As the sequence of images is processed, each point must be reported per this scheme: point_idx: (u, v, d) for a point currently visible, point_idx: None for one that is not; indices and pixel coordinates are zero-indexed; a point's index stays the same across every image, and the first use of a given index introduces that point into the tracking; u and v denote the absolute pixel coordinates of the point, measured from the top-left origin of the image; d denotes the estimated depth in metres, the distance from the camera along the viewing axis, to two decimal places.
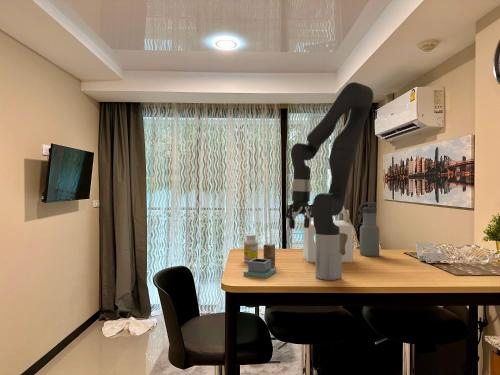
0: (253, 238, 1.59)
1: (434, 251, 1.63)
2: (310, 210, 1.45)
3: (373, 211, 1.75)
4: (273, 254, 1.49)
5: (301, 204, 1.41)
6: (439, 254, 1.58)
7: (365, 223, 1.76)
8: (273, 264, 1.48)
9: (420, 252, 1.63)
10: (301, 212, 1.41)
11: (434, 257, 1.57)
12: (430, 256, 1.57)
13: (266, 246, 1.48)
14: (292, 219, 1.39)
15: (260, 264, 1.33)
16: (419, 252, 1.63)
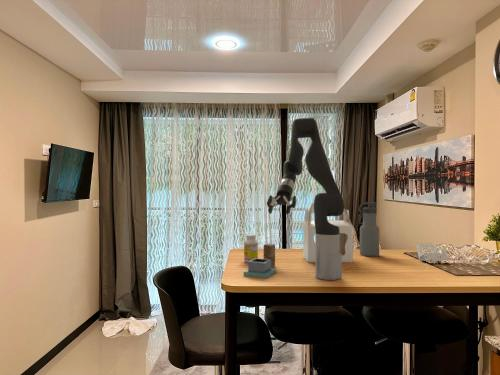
0: (253, 238, 1.59)
1: (435, 251, 1.62)
2: None
3: (373, 211, 1.75)
4: (273, 254, 1.49)
5: (281, 196, 1.67)
6: (440, 254, 1.57)
7: (365, 223, 1.76)
8: (273, 264, 1.48)
9: (421, 252, 1.62)
10: (280, 201, 1.64)
11: (435, 257, 1.57)
12: (431, 256, 1.57)
13: (266, 246, 1.48)
14: (269, 205, 1.65)
15: (260, 264, 1.33)
16: (420, 252, 1.62)
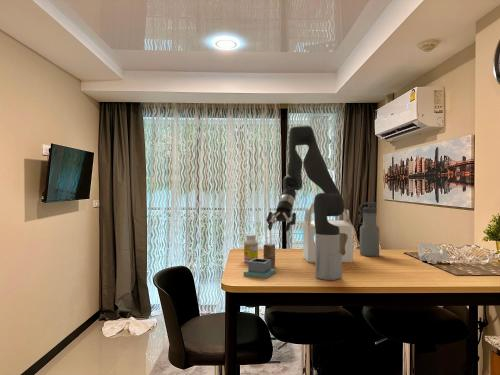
0: (253, 238, 1.59)
1: (436, 251, 1.62)
2: None
3: (373, 211, 1.75)
4: (273, 254, 1.49)
5: (281, 212, 1.66)
6: (441, 254, 1.57)
7: (365, 223, 1.76)
8: (273, 264, 1.48)
9: (422, 252, 1.62)
10: (280, 217, 1.64)
11: (436, 257, 1.57)
12: (432, 256, 1.57)
13: (266, 246, 1.48)
14: (269, 221, 1.64)
15: (260, 264, 1.33)
16: (421, 252, 1.62)
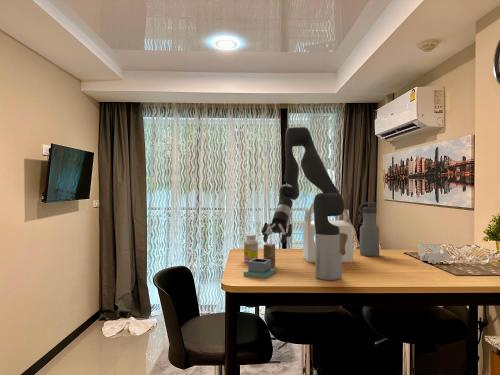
0: (253, 238, 1.59)
1: (437, 251, 1.62)
2: None
3: (373, 211, 1.75)
4: (273, 254, 1.49)
5: (277, 223, 1.60)
6: (442, 254, 1.57)
7: (365, 223, 1.76)
8: (273, 264, 1.48)
9: (423, 252, 1.62)
10: (275, 229, 1.58)
11: (437, 257, 1.56)
12: (433, 256, 1.57)
13: (266, 246, 1.48)
14: (264, 233, 1.58)
15: (260, 264, 1.33)
16: (422, 252, 1.62)
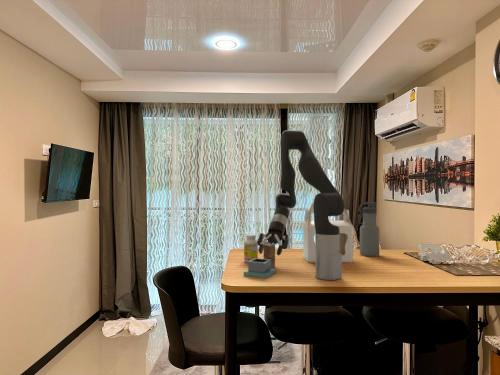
0: (253, 238, 1.59)
1: (438, 251, 1.62)
2: None
3: (373, 211, 1.75)
4: (273, 254, 1.49)
5: (273, 233, 1.56)
6: (443, 254, 1.57)
7: (365, 223, 1.76)
8: (273, 264, 1.48)
9: (424, 252, 1.62)
10: (271, 239, 1.53)
11: (437, 257, 1.56)
12: (433, 256, 1.57)
13: (266, 246, 1.48)
14: (260, 244, 1.54)
15: (260, 264, 1.33)
16: (423, 252, 1.62)
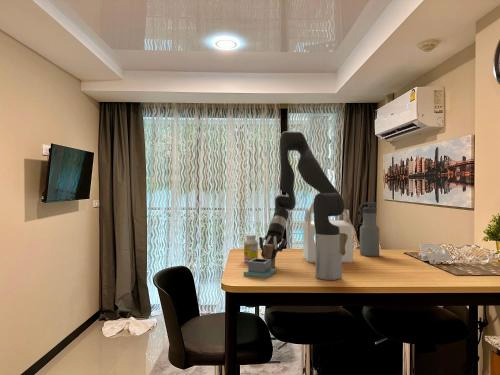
0: (253, 238, 1.59)
1: (439, 251, 1.61)
2: None
3: (373, 211, 1.75)
4: None
5: (272, 235, 1.55)
6: (443, 254, 1.56)
7: (365, 223, 1.76)
8: (273, 264, 1.48)
9: (424, 252, 1.62)
10: (271, 241, 1.52)
11: (438, 257, 1.56)
12: (434, 256, 1.56)
13: (266, 246, 1.48)
14: (263, 248, 1.51)
15: (260, 264, 1.33)
16: (423, 252, 1.62)
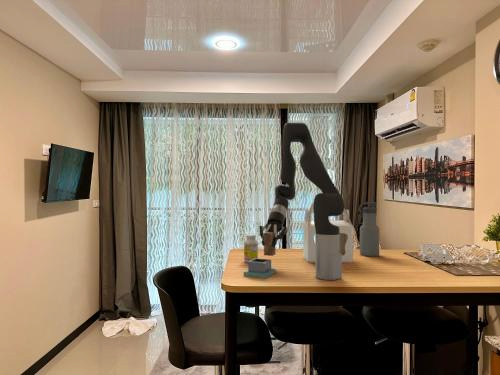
0: (253, 238, 1.59)
1: (440, 252, 1.61)
2: None
3: (373, 211, 1.75)
4: None
5: (272, 224, 1.55)
6: (444, 255, 1.56)
7: (365, 223, 1.76)
8: (273, 252, 1.48)
9: (425, 252, 1.61)
10: (271, 230, 1.52)
11: (439, 258, 1.56)
12: (435, 257, 1.56)
13: (266, 234, 1.48)
14: (263, 236, 1.51)
15: (260, 264, 1.33)
16: (424, 252, 1.62)
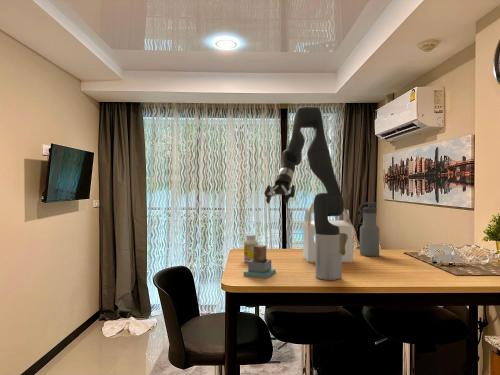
0: (253, 238, 1.59)
1: (449, 253, 1.59)
2: None
3: (373, 211, 1.75)
4: (264, 256, 1.36)
5: (280, 185, 1.61)
6: (452, 256, 1.54)
7: (365, 223, 1.76)
8: None
9: (433, 253, 1.60)
10: (278, 190, 1.59)
11: (446, 259, 1.54)
12: (442, 257, 1.54)
13: (256, 248, 1.35)
14: (267, 195, 1.59)
15: (260, 264, 1.33)
16: (432, 253, 1.60)
